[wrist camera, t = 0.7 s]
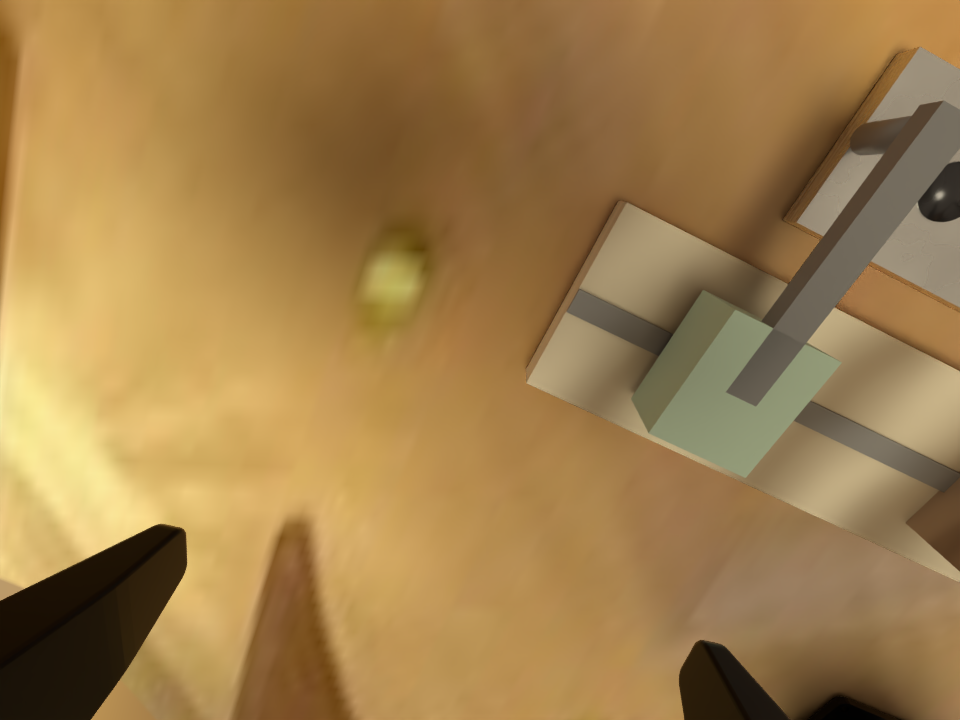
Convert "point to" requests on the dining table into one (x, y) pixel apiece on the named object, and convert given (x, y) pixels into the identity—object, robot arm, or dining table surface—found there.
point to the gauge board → (819, 426)
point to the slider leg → (788, 311)
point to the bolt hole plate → (939, 212)
